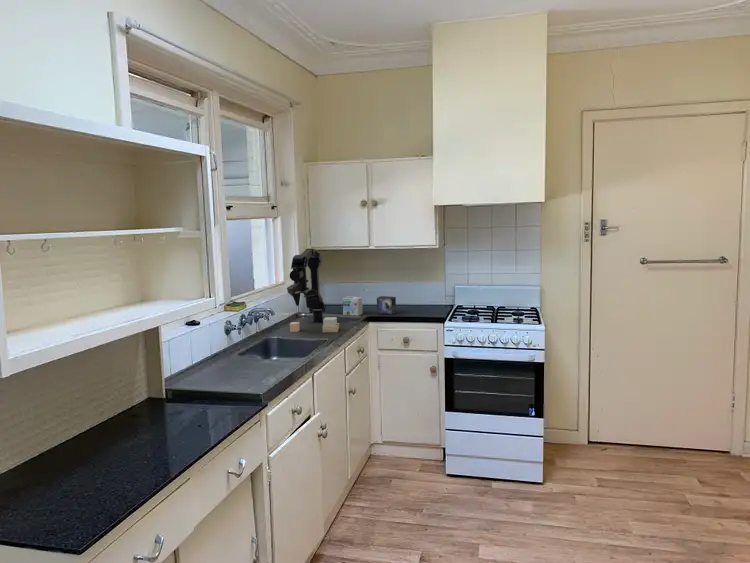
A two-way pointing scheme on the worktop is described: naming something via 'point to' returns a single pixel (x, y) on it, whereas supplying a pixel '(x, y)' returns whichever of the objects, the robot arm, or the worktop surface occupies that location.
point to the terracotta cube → (294, 326)
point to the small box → (386, 305)
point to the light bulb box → (352, 306)
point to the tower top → (330, 321)
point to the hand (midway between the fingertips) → (302, 306)
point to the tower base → (331, 328)
